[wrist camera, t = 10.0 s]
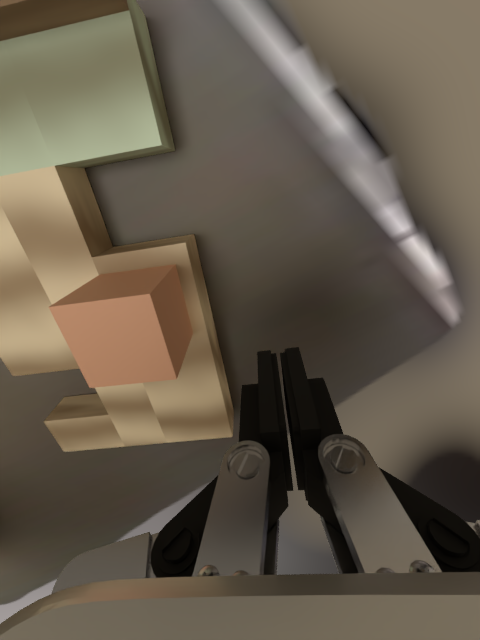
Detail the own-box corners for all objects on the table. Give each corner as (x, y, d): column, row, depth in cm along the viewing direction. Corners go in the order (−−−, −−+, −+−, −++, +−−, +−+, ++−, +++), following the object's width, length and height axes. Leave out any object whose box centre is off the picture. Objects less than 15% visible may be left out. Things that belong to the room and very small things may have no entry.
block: (193, 333, 19) (176, 379, 15) (125, 340, 19) (89, 388, 15) (175, 264, 17) (149, 293, 12) (99, 274, 17) (48, 306, 13)
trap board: (233, 411, 26) (231, 457, 22) (81, 426, 28) (50, 472, 23) (145, 16, 14) (97, -62, 9) (-124, 79, 15) (-275, 38, 11)
